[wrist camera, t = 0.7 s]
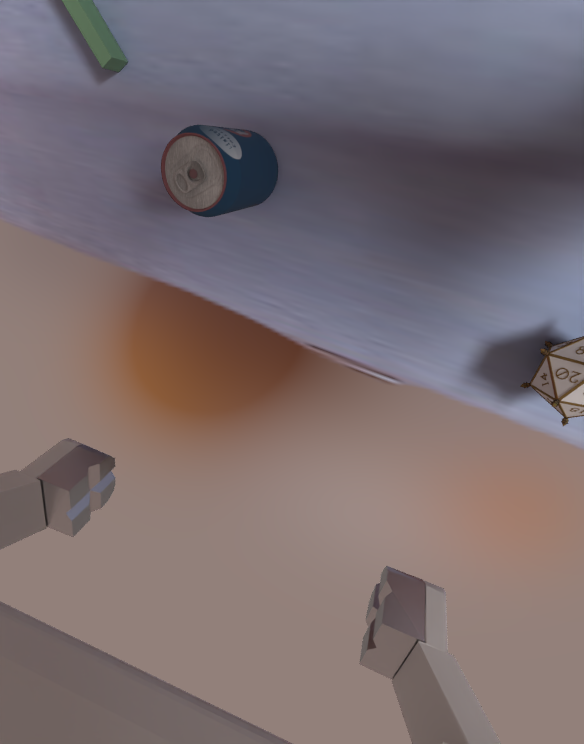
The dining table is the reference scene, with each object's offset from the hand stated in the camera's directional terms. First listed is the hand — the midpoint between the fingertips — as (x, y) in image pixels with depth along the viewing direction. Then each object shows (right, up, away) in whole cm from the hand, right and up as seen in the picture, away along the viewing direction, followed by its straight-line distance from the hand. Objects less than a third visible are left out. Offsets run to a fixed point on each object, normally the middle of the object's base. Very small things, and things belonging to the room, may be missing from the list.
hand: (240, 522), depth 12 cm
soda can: (-3, +25, +32) cm, 41 cm away
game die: (+29, +6, +31) cm, 43 cm away
